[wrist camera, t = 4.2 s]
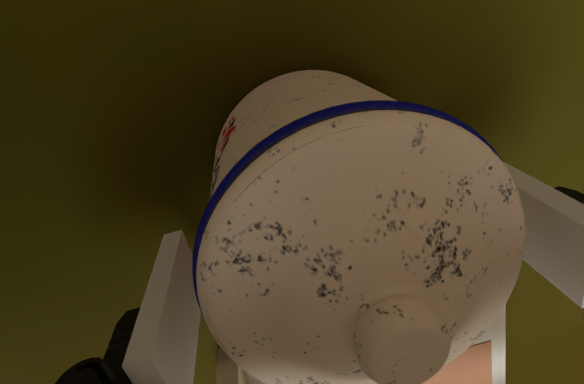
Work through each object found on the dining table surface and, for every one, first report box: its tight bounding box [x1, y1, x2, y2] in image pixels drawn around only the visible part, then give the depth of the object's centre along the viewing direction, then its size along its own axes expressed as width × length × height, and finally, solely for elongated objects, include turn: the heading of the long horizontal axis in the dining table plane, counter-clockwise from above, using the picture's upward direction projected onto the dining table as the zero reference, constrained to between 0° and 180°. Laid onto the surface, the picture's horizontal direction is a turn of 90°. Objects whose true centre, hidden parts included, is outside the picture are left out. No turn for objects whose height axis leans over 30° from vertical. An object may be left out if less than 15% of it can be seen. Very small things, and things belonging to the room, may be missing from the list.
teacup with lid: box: [192, 70, 525, 384], centre depth 14 cm, size 12×9×12 cm
